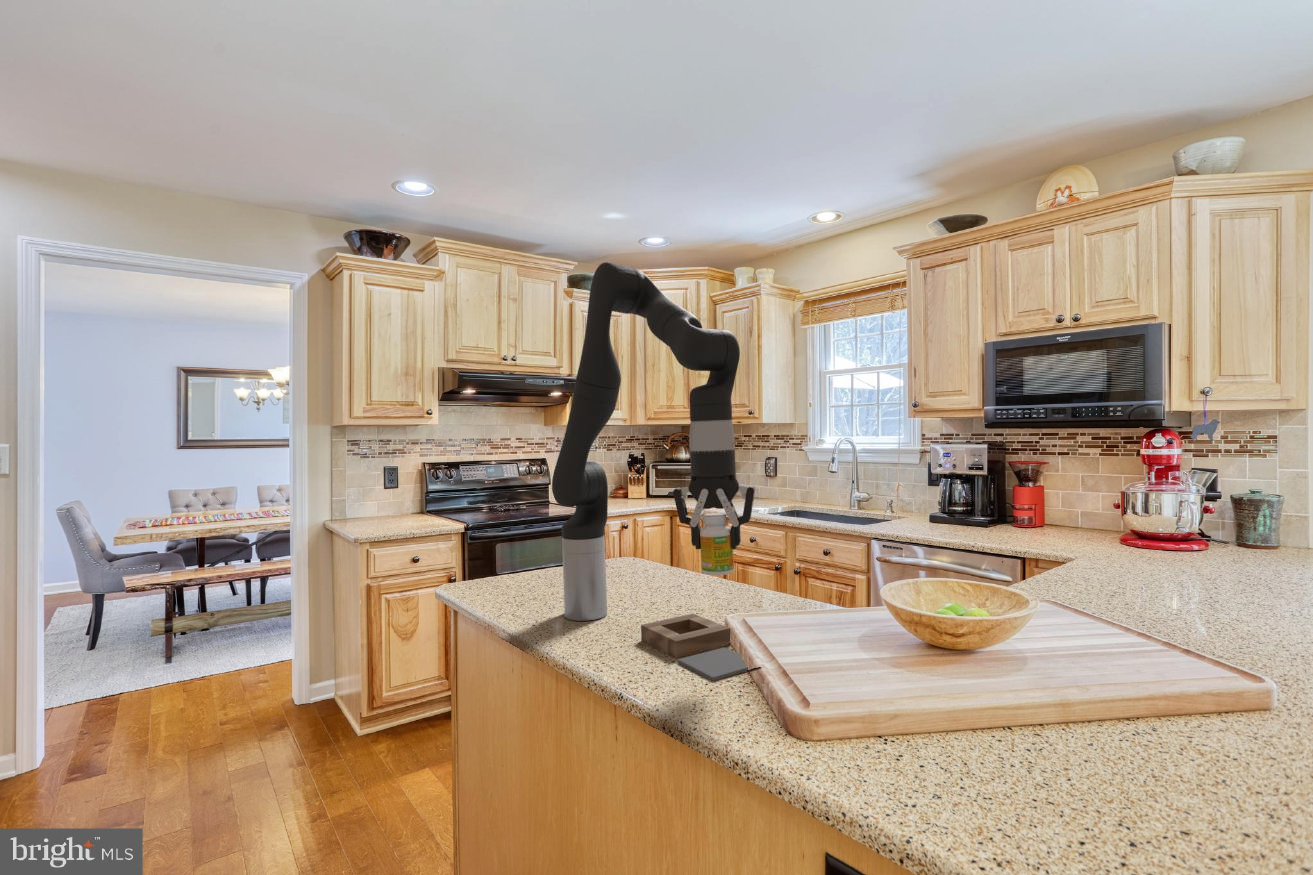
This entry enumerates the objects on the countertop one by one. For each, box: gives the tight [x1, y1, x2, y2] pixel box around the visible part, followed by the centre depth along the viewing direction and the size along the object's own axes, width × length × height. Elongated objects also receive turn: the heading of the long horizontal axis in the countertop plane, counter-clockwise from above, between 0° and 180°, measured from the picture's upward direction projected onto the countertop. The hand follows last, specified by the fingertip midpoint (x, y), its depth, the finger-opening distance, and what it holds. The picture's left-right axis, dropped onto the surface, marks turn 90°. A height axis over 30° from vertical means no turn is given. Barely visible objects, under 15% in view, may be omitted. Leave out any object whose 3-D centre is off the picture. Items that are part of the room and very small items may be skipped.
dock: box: [640, 613, 731, 659], centre depth 123 cm, size 12×12×3 cm
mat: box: [677, 646, 748, 682], centre depth 111 cm, size 10×10×1 cm
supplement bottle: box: [700, 512, 735, 576], centre depth 111 cm, size 5×5×10 cm
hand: (716, 548), depth 111 cm, fingers closed on supplement bottle, 5 cm apart
